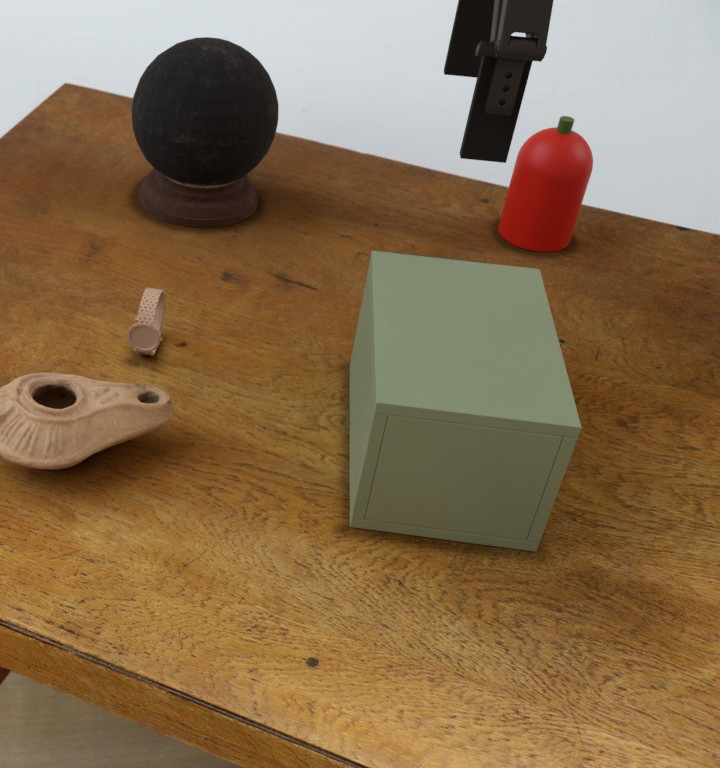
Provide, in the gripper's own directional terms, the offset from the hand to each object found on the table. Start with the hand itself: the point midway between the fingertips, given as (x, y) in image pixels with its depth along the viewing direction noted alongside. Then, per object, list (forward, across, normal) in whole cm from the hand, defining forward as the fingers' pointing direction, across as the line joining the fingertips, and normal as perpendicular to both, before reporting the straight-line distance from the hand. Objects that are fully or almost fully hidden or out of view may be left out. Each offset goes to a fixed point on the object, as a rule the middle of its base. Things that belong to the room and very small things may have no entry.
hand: (472, 113), depth 73 cm
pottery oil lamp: (+20, +16, -23) cm, 34 cm away
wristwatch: (+20, +2, -20) cm, 29 cm away
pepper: (+20, -22, +12) cm, 32 cm away
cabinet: (+20, +11, +1) cm, 23 cm away
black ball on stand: (+20, -22, -19) cm, 36 cm away
